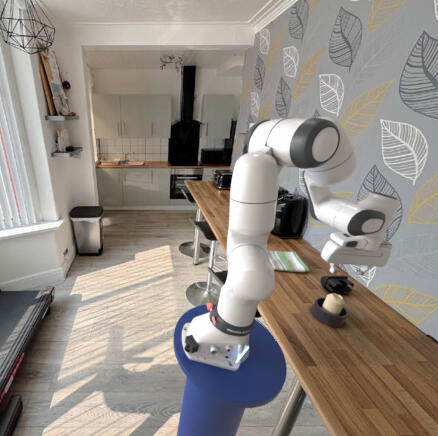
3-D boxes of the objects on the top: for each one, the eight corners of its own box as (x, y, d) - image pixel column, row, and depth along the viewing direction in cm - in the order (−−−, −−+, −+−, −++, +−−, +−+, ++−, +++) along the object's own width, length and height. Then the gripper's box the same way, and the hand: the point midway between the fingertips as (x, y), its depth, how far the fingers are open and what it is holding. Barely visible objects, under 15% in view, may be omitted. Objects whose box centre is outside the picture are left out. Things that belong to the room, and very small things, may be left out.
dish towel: (309, 274, 118) (311, 268, 116) (262, 269, 119) (263, 264, 118) (293, 255, 133) (294, 250, 132) (251, 252, 135) (252, 246, 134)
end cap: (337, 284, 111) (342, 272, 109) (350, 294, 105) (356, 282, 102) (317, 284, 110) (322, 272, 108) (329, 295, 104) (335, 283, 101)
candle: (324, 320, 90) (333, 300, 86) (316, 309, 95) (325, 290, 91) (339, 322, 89) (350, 302, 85) (331, 311, 94) (340, 291, 90)
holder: (321, 326, 88) (326, 316, 86) (306, 306, 97) (310, 296, 95) (349, 328, 88) (355, 318, 86) (331, 307, 97) (335, 298, 95)
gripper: (385, 237, 81) (368, 270, 87) (326, 233, 82) (312, 265, 87) (403, 246, 75) (383, 281, 81) (338, 242, 76) (323, 276, 81)
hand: (346, 273), depth 84 cm, fingers open, 8 cm apart
